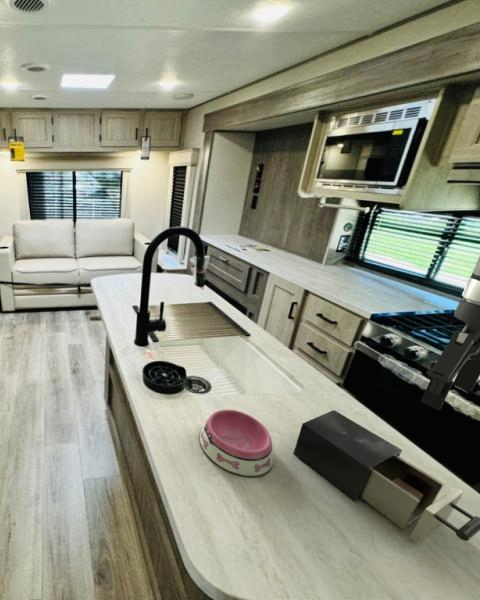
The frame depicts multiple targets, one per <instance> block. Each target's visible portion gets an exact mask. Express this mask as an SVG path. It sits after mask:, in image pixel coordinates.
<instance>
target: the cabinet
mask: <svg viewBox="0 0 480 600" xmlns="http://www.w3.org/2000/svg"><path fill="white" fill-rule="evenodd" d="M402 451H403V450H402V449H401V448H399V447H398V446H397V445H394V444H392V443H391V442H390V441H388V440H386V439H384V438H383V437H381V436H379V435H378V434H376V433H374V432H372V431H371V430H369V429H368V428H366V427H364V426H362V425H360V424H359V423H357V422H355V421H354V420H352V419H351V418H349V417H347V416H346V415H343V414H341V413H340V412H339V411H337V410H335V409H332V410H330V411H328V412H326V413H323V414H321V415H319V416H316V417H314V418H312V419H309V420H307V421H305V422H302V424H301V428H300V431H299V434H298V437H297V440H296V443H295V447H294V449H293V455H294V456H295V457H296V458H297V459H299V460H300V461H301V462H303V464H305V465H306V466H308V467H309V468H310V469H311V470H313V471H314V473H317V474H318V475H319V476H320V477H322V478H323V479H324V480H326V481H327V482H328V483H329V484H331V485H332V486H333V487H335V488H336V489H337V490H338V491H340V492H341V493H342V494H343V495H345V496H346V497H347V498H348V499H350V500H351V501H352V502H354V503H356V502H358V501H359V500H361V499H362V498H361V497H360V496H359V495H360V492H361V490H362V488H363V486H364V483H365V481H366V479H367V477H368V474H369V472H370V470H371V469H373V468H375V467H376V466H378V465H380V464H382V463H383V462H385V461H387V460H389V459H390V458H392V457H394V456H396V455H397V456H399V457H401V454H402Z"/></svg>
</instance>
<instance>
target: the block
mask: <svg viewBox="0 0 480 600" xmlns="http://www.w3.org/2000/svg"><path fill="white" fill-rule="evenodd" d="M392 482H393V483H395V484H396V485H398V486H399V487H401V488H402V489H404V490H405V491H407V492H408V493H410V494H411V495H413V496H414V497H416V498H417V499H419V500H421V499H422V497H423V494H422V493H421V492H419V491H418V490H416V489H415V488H413V487H411V486H410V485H408V484H407V483H405V482H404V481H402V480H401V479H399V478H396V479H395V480H393V481H392ZM417 506H418V505H417ZM416 508H417V507H416Z"/></svg>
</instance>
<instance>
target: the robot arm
mask: <svg viewBox="0 0 480 600" xmlns="http://www.w3.org/2000/svg"><path fill="white" fill-rule="evenodd" d="M461 296H462V297H463V298H462V299H460V300H459V302H458V304H457V306H456V308H455V311H454V313H453V315H454V317H455V318H456V319H457V320H459V321H461V322H464V323H465V325H464V327H463V328H462V327H460V328H459V329H458V330H454V331H453V333H452V335H451V337H450V340H449V341H448V343H447V345H446V346H445V347H444V349H443V351H442V352H441V354H440V356H439V357H438V358H437V360H436V361H435V363H434V365H433V366H432V367H431V369H430V370H427V371H426V373H425V374H426V376H428V377H430V380H429V382H428V384H427V386H426V389H425V390H424V393H423V395H422V398H421V400H420V403H422V404H424V405H427V406H429V407H431V408H433V409H435V410H437V411H440V410H441V409H442V407H443V405H444V403H445V401H446V399H447V397H448V395H449V393H450V391H451V388H452V386H456V387H458V388H461V389H464V390H466V391H469V392H472V391H473V389H474V388H475V386H476V384H477V382H478V380H479V378H480V255H479V256H478V259H477V260H476V263H475V265H474V268H473V270H472V273H471V275H470V277H469V279H468V280H467V283H466V285H465V288H464V290H463V292H462V293H461ZM454 378H455V379H454Z"/></svg>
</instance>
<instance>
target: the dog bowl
mask: <svg viewBox="0 0 480 600" xmlns="http://www.w3.org/2000/svg"><path fill="white" fill-rule="evenodd" d="M198 438H199V439H198V441H199V446H200V448H201V450H202V452H203V454H204V455H205V456H206V457H207V459H209V461H211V462H212V463H213V464H215V465H216V466H217V467H218V468H220V469H221V470H223V471H225V472H228V473H230V474H232V475H235V476H239V477H244V478H258V477H259V478H260V477H262V476H265V475H267V474H268V473H269V472H270V471H271V470H272V468H273V466H274V455H273V454H274V453H273V442H272V441H273V440H272V436H271V434H270V432H269V430H268V429H267V427H266V426H265V425H264V424H263V423H261V422H260V421H259V420H258V419H256V418H255V417H254V416H251V415H250V414H248V413H245V412H243V411H240V410H235V409H220V410H217V411H215V412H213V413H211V415H210V416H209V417H208V418H207V420H206V421H205V424H204V425H203V427H202V429H201V431H200V433H199V437H198Z"/></svg>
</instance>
